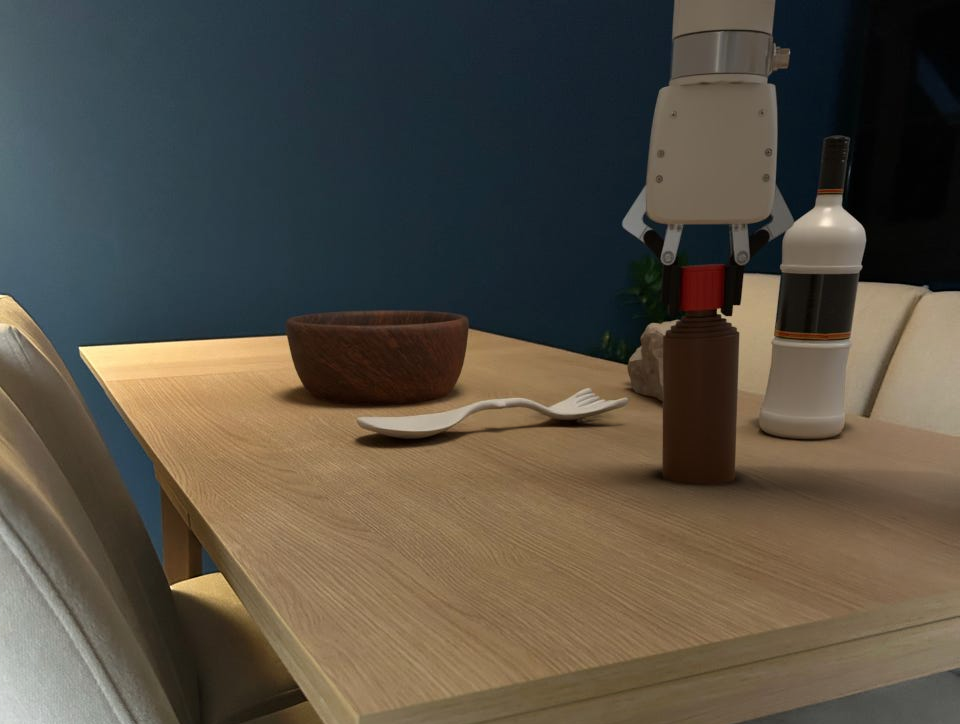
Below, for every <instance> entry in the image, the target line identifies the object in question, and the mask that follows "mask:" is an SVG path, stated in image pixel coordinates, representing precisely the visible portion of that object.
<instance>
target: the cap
mask: <svg viewBox="0 0 960 724" xmlns="http://www.w3.org/2000/svg"><path fill="white" fill-rule="evenodd" d="M725 266H727V264H725V263H709V264H695V265H694V264H693V265H684V266H680V267H681V275H680V289H679V303H678V311H683V312H686V311H699V310H713V309H717V310H719V309H720V310H721V308H723V306H724V292H725V278H726V271H725Z"/></svg>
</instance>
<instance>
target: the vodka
mask: <svg viewBox="0 0 960 724" xmlns="http://www.w3.org/2000/svg"><path fill="white" fill-rule="evenodd" d="M850 141H851V138H850V137H849V136H846V135H845V136H844V135H831V136H828V137H824V138H823V140H822V142H823V143H822V150H821V157H820V158H821V159H820V160H821V162H820V165H819V166H820V167H819V173H818V174H819V175H818V184H817V191H816V198H815V204H814V207H813V208H812V209H810V210H809V211H808V212H806V213H805V214H804V215H802V216H801V217H800V218H798V219H797V220H795V221H794V224H793V226H792V227H791V228H790V229H788V230H787V231H785V232H784V236H783V238H782V245H781V264H780V265H779V269H780V270H781V272H780V276H779V277H780V279H779V285H778V286H779V287H778V295H777V296H778V297H777V304H776V305H777V306H776V313H775V314H776V315H775V323H774V332H773V336H774V338H773V339H772V340H771V346H772V347H771V358H770V359H771V360H770V368H769V373H768V379H767V385H766V389H765V394H764V399H763V403H762V405H761V407H760V410H759V416H758V424H759V427H760V429H761V430H762V431H763V432H765V433H766V434H768V435H769V436H775V437H778V438H785V439H794V440H824V439H825V440H826V439H831V438H834V437H835V436H837V435H839V434H840V433H841V432H842V431H843V429H844V427H845V423H846V409H845V393H846V392H845V391H846V376H847V375H846V374H847V365H848V359H849V355H850V354H849V353H850V350H851V347H852V345H853V344H852V341H851V340H850V339H851V338H852V337H851V335H852V328H853V322H854V315H855V308H856V300H857V293H858V287H859V286H858V285H859V280H860V272H861V271H862V269H863V265H862V263H863V262H862V261H863V257H864V253H865V249H866V243H867V236H866V235H867V234H866V230H865V228H864V226H863V225H862V223H861V222H859V221H858V220H857V219H856V218H855V217H854V216H853V215H851V213H849V212H848V211H847V210H846V209H844V207H843V195H844V187H845V181H846V172H847V166H848V162H847V161H848V158H849V157H848V155H849V152H850V151H849V150H850V147H849V146H850Z"/></svg>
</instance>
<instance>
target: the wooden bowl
mask: <svg viewBox="0 0 960 724" xmlns="http://www.w3.org/2000/svg"><path fill="white" fill-rule="evenodd" d="M469 325H470V320H469V318H468V317H467V316H465V315H463V314H460V313H453V312H446V311H445V312H443V311H431V310H429V311H428V310H390V309H389V310H388V309H387V310H351V311H350V310H349V311H348V310H347V311H332V312H331V311H329V312H318V313H317V312H316V313H310V314H302V315H296V316H292V317H289V318H287V319H286V320H285V326H284V327H285V332H286V338H287V343H288V347H289V352H290V355H291V360H292V363H293V367H294V369H295V372H296V374H297V376H298V378H299V380H300V382H301V384H302V386H303V387H304V389H305V390H306V392H307V393H308V394H309V395H310V396H311V397H313V398H315V399H317V400H321V401H326V402H334V403H343V404H344V403H345V404H362V405H363V404H364V405H365V404H367V405H371V404H373V405H374V404H375V405H377V404H378V405H379V404H404V403H415V402H422V401H428V400H433V399H438V398H441V397H445V396H446V395H448V394H450V392H452V391H453V390H454V388H455V386H456V384H457V382H458V381H459V378H460V376H461V374H462V373H461V372H462V370H463V367H464V363H465V358H466V354H467V347H468V338H469V329H470V326H469Z"/></svg>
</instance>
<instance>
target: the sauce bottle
mask: <svg viewBox="0 0 960 724" xmlns="http://www.w3.org/2000/svg"><path fill="white" fill-rule="evenodd" d="M678 320H679V321H677V322H676V325H673V326H671V329H670V330H667V331H666V335H664V336H663V401H662V477H663V478H665V479H667V480H669V481H672V482H676V483H681V484H689V485H720V484H726V483H731V482H732V481H734V480H735V478H736V451H737V444H736V443H737V424H738V423H737V419H738V418H737V417H738V390H739V389H738V388H739V361H740V360H739V359H740V332H739V331H738V328H737V326H733V325H732V322H729V321H728V319H727V318H726V317H725V318H724V317H722V313H718V309H713V310H699V311H685V315H682V316H681V318H680V319H678Z"/></svg>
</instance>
